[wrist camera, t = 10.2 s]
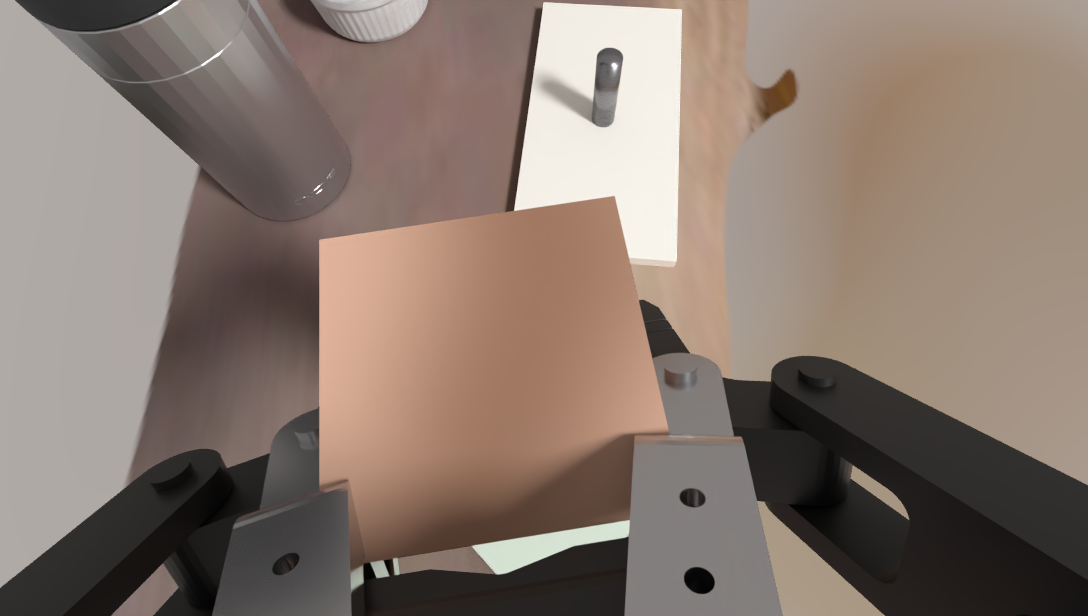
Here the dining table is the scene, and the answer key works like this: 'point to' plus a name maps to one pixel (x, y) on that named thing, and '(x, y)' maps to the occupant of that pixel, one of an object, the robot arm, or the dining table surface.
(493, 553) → the mat
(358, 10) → the ramekin
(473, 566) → the dining table surface
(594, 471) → the tan recessed-panel box
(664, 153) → the hook board
